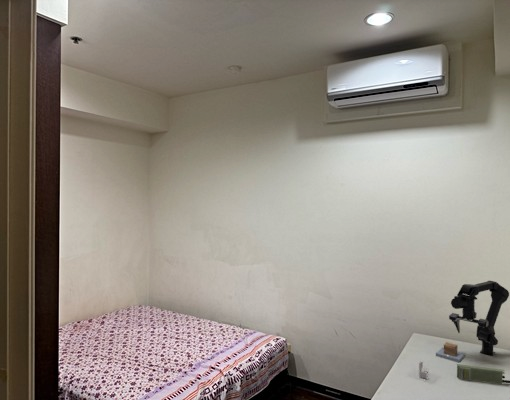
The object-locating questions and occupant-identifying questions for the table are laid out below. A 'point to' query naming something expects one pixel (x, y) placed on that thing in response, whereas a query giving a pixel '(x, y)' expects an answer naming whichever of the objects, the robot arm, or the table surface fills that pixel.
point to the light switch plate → (457, 357)
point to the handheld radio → (481, 374)
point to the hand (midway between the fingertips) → (468, 335)
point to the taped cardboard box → (450, 348)
